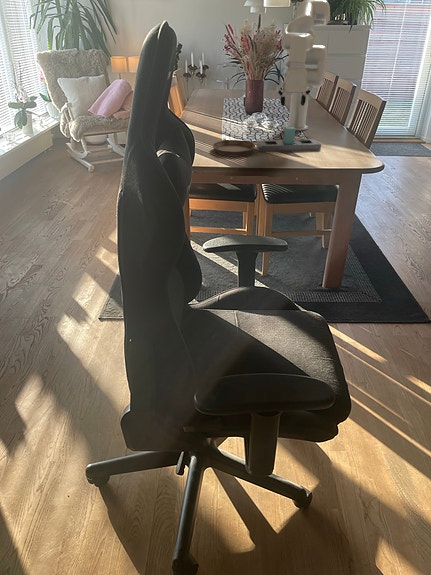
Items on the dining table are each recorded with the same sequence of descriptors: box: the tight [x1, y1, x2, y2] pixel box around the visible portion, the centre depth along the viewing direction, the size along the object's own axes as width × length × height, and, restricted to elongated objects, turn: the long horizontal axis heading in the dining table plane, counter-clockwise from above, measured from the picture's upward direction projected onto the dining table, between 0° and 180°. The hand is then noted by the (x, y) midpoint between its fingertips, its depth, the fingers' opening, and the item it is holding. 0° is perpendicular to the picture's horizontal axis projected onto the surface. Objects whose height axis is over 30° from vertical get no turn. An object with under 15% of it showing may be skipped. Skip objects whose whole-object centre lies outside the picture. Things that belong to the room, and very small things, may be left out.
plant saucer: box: [212, 139, 256, 157], centre depth 223 cm, size 21×21×3 cm
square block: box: [283, 126, 296, 144], centre depth 227 cm, size 4×4×10 cm
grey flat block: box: [255, 138, 322, 153], centre depth 229 cm, size 10×30×3 cm, turn 99°
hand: (292, 105), depth 219 cm, fingers open, 9 cm apart
